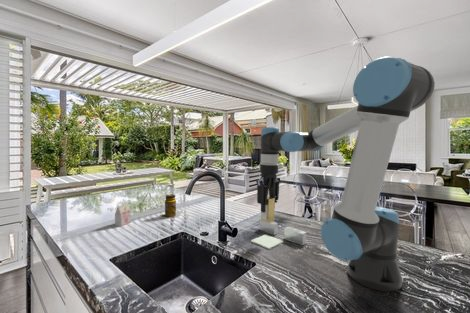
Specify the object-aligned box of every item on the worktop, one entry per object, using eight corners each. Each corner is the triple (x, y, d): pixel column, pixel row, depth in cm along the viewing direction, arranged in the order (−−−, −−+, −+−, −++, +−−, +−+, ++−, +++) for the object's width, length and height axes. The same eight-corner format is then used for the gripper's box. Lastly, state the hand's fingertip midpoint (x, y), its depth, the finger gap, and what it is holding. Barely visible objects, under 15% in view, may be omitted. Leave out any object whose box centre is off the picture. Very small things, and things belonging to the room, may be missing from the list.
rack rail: (306, 243, 102) (306, 232, 101) (302, 245, 100) (302, 234, 99) (263, 228, 119) (263, 218, 119) (259, 229, 117) (259, 219, 117)
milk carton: (115, 225, 119) (114, 206, 119) (125, 221, 126) (125, 203, 125) (120, 226, 118) (120, 207, 118) (130, 222, 125) (130, 203, 124)
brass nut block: (274, 220, 102) (274, 198, 101) (268, 222, 99) (268, 199, 99) (266, 218, 105) (267, 196, 104) (260, 220, 102) (261, 197, 102)
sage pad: (283, 242, 102) (283, 241, 102) (269, 249, 96) (269, 248, 96) (265, 235, 110) (265, 234, 110) (250, 241, 103) (250, 240, 103)
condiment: (178, 216, 136) (178, 195, 135) (163, 219, 131) (163, 197, 130) (173, 213, 142) (173, 193, 141) (159, 215, 137) (159, 195, 136)
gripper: (274, 162, 109) (272, 212, 111) (248, 164, 97) (247, 220, 99) (288, 163, 104) (286, 216, 105) (262, 166, 92) (261, 225, 94)
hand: (267, 218), depth 102 cm, fingers closed on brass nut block, 4 cm apart
